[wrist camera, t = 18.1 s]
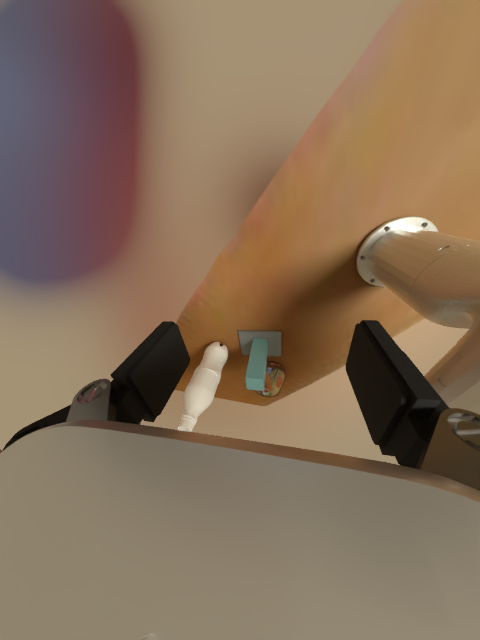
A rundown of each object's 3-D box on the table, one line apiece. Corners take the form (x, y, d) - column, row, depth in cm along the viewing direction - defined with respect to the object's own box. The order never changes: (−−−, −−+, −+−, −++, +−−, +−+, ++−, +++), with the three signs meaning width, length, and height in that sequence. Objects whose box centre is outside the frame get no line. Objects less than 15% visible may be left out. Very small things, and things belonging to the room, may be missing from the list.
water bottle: (217, 335, 55) (178, 416, 34) (234, 349, 56) (207, 434, 36) (203, 346, 58) (161, 425, 38) (220, 359, 60) (189, 442, 40)
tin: (260, 364, 54) (288, 372, 53) (262, 357, 57) (289, 364, 55) (252, 393, 63) (276, 401, 61) (253, 386, 65) (276, 393, 64)
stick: (267, 349, 53) (264, 390, 42) (254, 349, 54) (246, 389, 42) (267, 339, 51) (263, 379, 39) (253, 338, 52) (245, 378, 40)
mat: (281, 330, 49) (281, 332, 49) (281, 355, 54) (281, 356, 53) (238, 330, 52) (238, 331, 51) (242, 353, 57) (242, 355, 56)
